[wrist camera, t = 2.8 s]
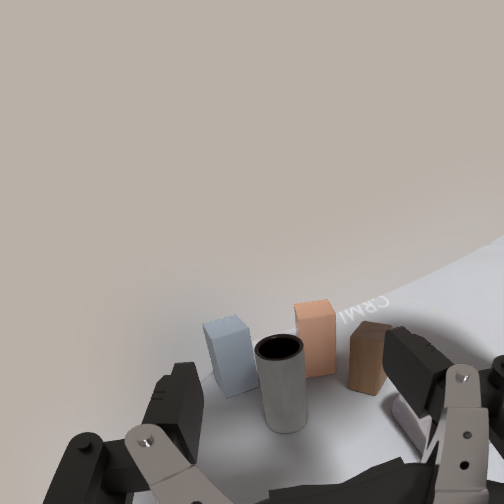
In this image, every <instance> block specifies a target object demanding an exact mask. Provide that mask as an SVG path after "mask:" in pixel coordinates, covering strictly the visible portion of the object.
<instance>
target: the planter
mask: <svg viewBox="0 0 504 504" xmlns="http://www.w3.org/2000/svg"><path fill="white" fill-rule="evenodd" d="M254 352H255V358H256V364H257V370H258V376H259V382H260V388H261V394H262V399H263V405H264V411H265V416H266V421H267V425H268V426H269V428H270V429H271V430H273V431H275V432H278V433H283V434H287V433H293V432H296V431H298V430H300V429H301V428H302V427H303V426H304V425H305V424H306V422H307V391H306V371H305V354H304V343H303V341H302V340H301V339H300V338H298V337H296V336H294V335H289V334H277V335H272V336H269V337H266V338H264V339H262V340H261V341H259V342H258V343H257V344H256V346H255V349H254Z"/></svg>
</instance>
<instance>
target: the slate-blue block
mask: <svg viewBox="0 0 504 504" xmlns="http://www.w3.org/2000/svg"><path fill="white" fill-rule="evenodd" d="M202 326H203V330H204V334H205V338H206V342H207V346H208V350H209V354H210V358H211V362H212V366H213V370H214V373H215V377H216V380H217V382H218V384H219V386H220V387H221V389H222V391H223V393H224V395H225V396H226V398H229V397H232V396H235V395H238V394H240V393H243V392H246V391H249V390H252V389H254V388H257V387H259V383H258V378H257V372H256V366H255V360H254V354H253V348H252V342H251V336H250V330H249V328H248V327H247V326H246V325H245V324H244V323H243V321H241V319H240V318H239V317H238V316H237V315H233V316H229V317H225V318H222V319H218V320H215V321H211V322H208V323H204V324H202Z"/></svg>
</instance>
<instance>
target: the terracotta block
mask: <svg viewBox="0 0 504 504" xmlns="http://www.w3.org/2000/svg"><path fill="white" fill-rule="evenodd" d="M294 309H295V321H296V332H297V337H298V338H300V339H301V340H302V341H303V343H304V354H305V371H306V378H309V377H316V376H322V375H328V374H334V373H336V314H335V312H334V310H333V308H332V306H331V304H330V302H329V301H328V299H326V300H319V301H312V302H305V303H297V304H294Z"/></svg>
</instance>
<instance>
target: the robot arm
mask: <svg viewBox="0 0 504 504" xmlns="http://www.w3.org/2000/svg"><path fill="white" fill-rule="evenodd" d="M382 366H383V370H384V372H385V374H386V375H387V376H388V378H389V379H390V380H391V382H392V383H393V384H394V386H395V387H396V388H397V390H398V391H399V392H400V394H401V395H402V396H403V398H404V399H405V400H406V402H407V403H408V404H409V406H410V407H411V408H412V410H413V411H414V413H415V414H416V415H417V417H418V418H419V419H422V418H424V417H426V416H428V415H430V416H431V421H430V424H429V429H428V435H427V440H426V444H425V449H424V453H423V457H422V460H421V463H406V464H404V462H403V460H402V459H401V457H398V458H396V459H393V460H391V461H388V462H385V463H382V464H380V465H377V466H374V467H371V468H369V469H368V470H366V471H364V472H362V473H360V474H359V475H357V476H355V477H353V478H351V479H349V480H347V481H345V482H343V483H340V484H329V485H300V486H295V487H289V488H282V489H275V490H269V498H268V499H265V500H262V501H260V502H258V503H255V504H504V483H500V482H495V481H490V480H487V469H488V452H489V440H490V442H491V443H492V444H493V446H494V447H495V448H496V450H497V451H498V452H499V454H500V455H501V457H502V458H503V459H504V355H501V356H498V357H496V358H495V359H494V361H493V364H492V367H491V369H486V370H482V371H477V370H476V369H475V368H474V367H473V366H471V365H468V364H456V365H454V364H453V363H452V362H451V361H450V360H449V359H447V358H446V357H445V356H444V355H443V354H442V353H441V352H440V351H438V350H436V348H435V347H434V346H433V345H431V343H429V342H428V341H427V340H426V339H425V338H423V337H421V336H418V335H416V334H412V333H410V332H409V331H408V330H407V329H406V328H405V327H403V326H400V327H397V328H393V329H390V330H387V331H386V332H385V337H384V347H383V356H382ZM203 407H204V396H203V391H202V387H201V384H200V380H199V377H198V373H197V370H196V366H195V364H194V362H184V363H175V364H174V367H173V370H172V373H171V375H164V376H163V377H162V378H161V379H160V380H159V381H158V382H157V383H156V386H155V389H154V393H153V394H152V397H151V400H150V402H149V405H148V408H147V410H146V413H145V416H144V418H143V421H142V424H141V425H139V426H136V427H134V428H132V429H131V430H130V431H129V432H128V433H127V434H126V436H125V439H121V440H115V441H108V442H103V440H102V439H101V438H100V436H98V435H97V434H95V433H91V432H85V433H81V434H78V435H76V436H75V437H74V438H72V439H71V441H70V442H69V444H68V446H67V448H66V450H65V453H64V455H63V457H62V459H61V461H60V464H59V466H58V468H57V470H56V473H55V475H54V477H53V480H52V482H51V484H50V487H49V489H48V492H47V494H46V496H45V499H44V501H43V504H132V502H133V496H134V492H141V491H148V490H151V491H152V492H153V494H154V495H155V497H156V498H157V500H158V501H159V502H160V504H234V503H233V502H232V501H231V500H229V499H228V498H227V497H226V496H225V495H224V494H223V493H222V492H221V491H220V490H219V489H218V488H217V487H216V486H215V485H214V484H213V483H212V482H211V481H210V480H209V479H208V478H207V477H206V476H205V475H204V474H203V473H202V472H201V470H200V469H199V468H198V467H197V466H195V465H191V464H196V463H197V455H198V446H199V438H200V430H201V422H202V414H203Z"/></svg>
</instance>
